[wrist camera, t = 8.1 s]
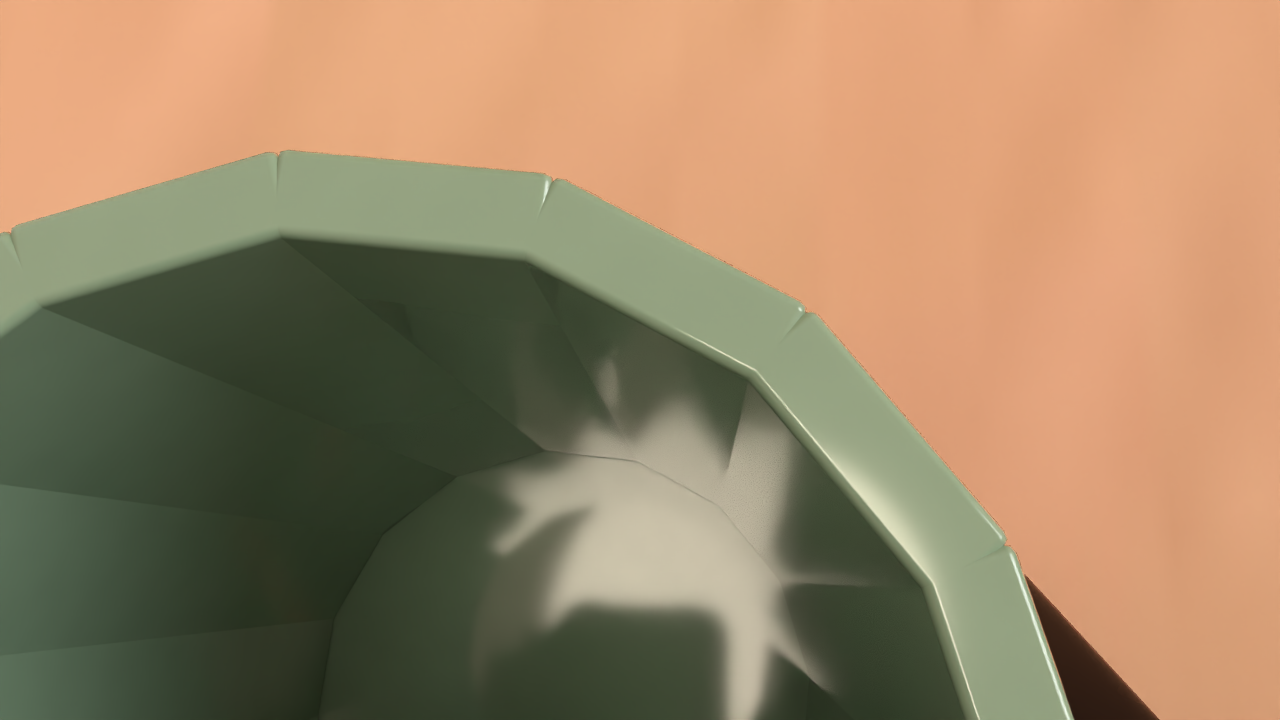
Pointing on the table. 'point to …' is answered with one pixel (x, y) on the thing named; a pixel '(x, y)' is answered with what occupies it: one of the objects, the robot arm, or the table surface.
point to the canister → (464, 471)
